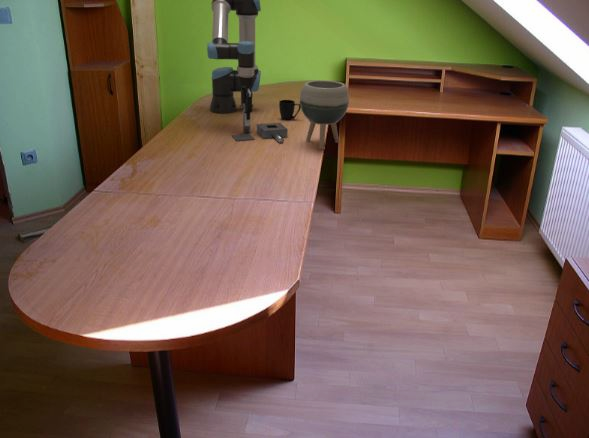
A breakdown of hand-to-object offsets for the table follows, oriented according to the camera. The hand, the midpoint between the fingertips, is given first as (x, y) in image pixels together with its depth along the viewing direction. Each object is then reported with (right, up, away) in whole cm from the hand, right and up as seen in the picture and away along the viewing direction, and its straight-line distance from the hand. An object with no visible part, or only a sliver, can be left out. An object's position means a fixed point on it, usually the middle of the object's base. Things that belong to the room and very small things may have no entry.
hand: (246, 124), depth 265 cm
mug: (+21, +7, +27) cm, 35 cm away
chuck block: (+14, -7, -4) cm, 16 cm away
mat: (-1, -7, -6) cm, 10 cm away
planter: (+36, -11, -12) cm, 40 cm away
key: (0, -4, +2) cm, 4 cm away
